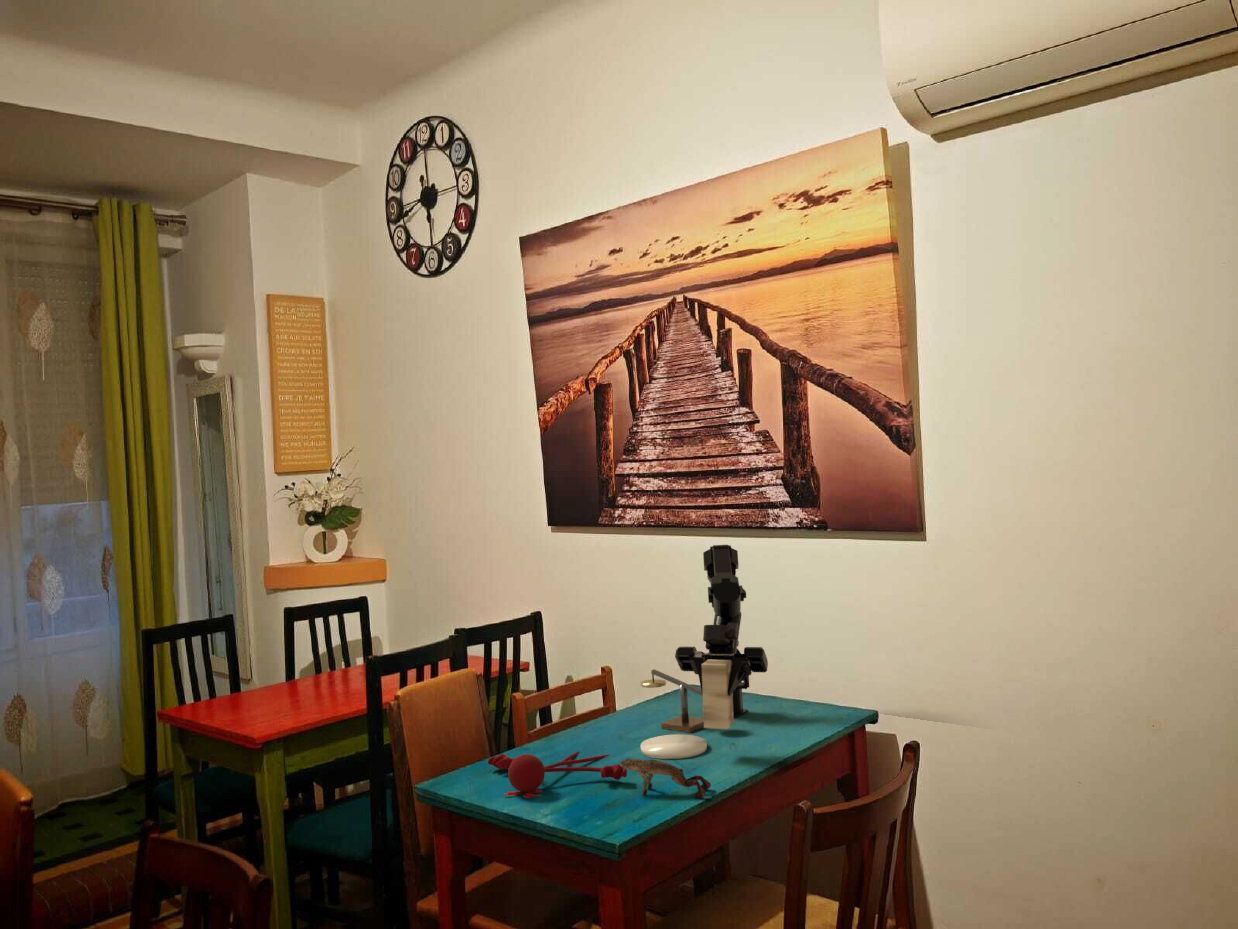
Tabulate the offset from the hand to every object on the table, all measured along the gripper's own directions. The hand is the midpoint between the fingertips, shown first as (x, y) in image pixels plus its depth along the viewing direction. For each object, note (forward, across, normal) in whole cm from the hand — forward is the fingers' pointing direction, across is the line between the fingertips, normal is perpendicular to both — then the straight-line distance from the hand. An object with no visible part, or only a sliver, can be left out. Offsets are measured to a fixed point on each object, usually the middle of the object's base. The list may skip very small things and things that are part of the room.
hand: (716, 694), depth 209 cm
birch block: (+4, 0, +6) cm, 7 cm away
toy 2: (+25, -5, -7) cm, 27 cm away
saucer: (+6, -11, +12) cm, 18 cm away
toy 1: (+21, -29, -1) cm, 35 cm away
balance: (-7, -14, +25) cm, 29 cm away
